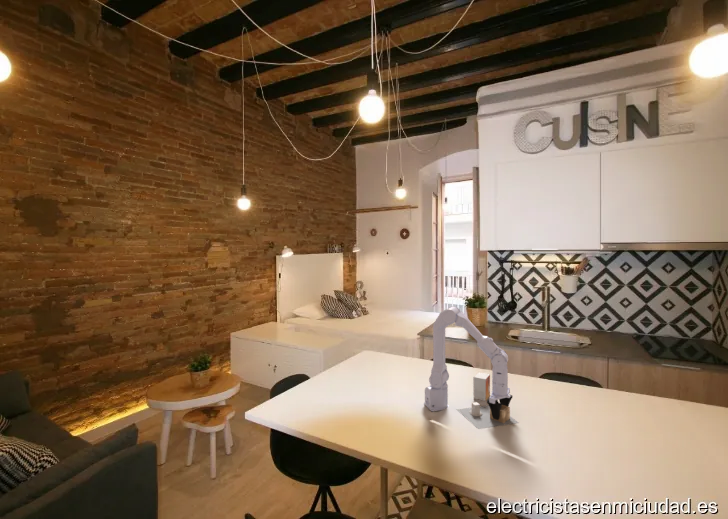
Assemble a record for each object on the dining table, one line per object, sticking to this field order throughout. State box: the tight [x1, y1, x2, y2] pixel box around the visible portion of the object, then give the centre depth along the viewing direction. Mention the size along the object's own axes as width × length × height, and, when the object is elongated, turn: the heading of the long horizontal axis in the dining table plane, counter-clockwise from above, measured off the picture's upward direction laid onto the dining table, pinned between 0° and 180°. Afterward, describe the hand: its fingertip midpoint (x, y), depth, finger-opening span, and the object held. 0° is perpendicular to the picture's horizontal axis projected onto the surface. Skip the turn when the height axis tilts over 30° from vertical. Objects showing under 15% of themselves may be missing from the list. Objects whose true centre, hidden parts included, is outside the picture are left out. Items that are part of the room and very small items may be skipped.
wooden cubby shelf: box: [490, 405, 511, 423], centre depth 132 cm, size 6×6×5 cm
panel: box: [456, 401, 520, 430], centre depth 134 cm, size 18×16×5 cm
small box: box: [472, 371, 491, 402], centre depth 152 cm, size 8×6×10 cm
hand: (499, 415), depth 132 cm, fingers open, 7 cm apart
